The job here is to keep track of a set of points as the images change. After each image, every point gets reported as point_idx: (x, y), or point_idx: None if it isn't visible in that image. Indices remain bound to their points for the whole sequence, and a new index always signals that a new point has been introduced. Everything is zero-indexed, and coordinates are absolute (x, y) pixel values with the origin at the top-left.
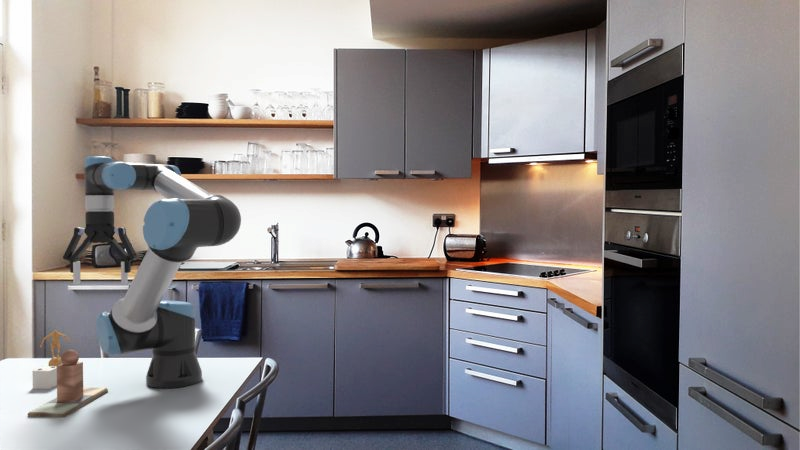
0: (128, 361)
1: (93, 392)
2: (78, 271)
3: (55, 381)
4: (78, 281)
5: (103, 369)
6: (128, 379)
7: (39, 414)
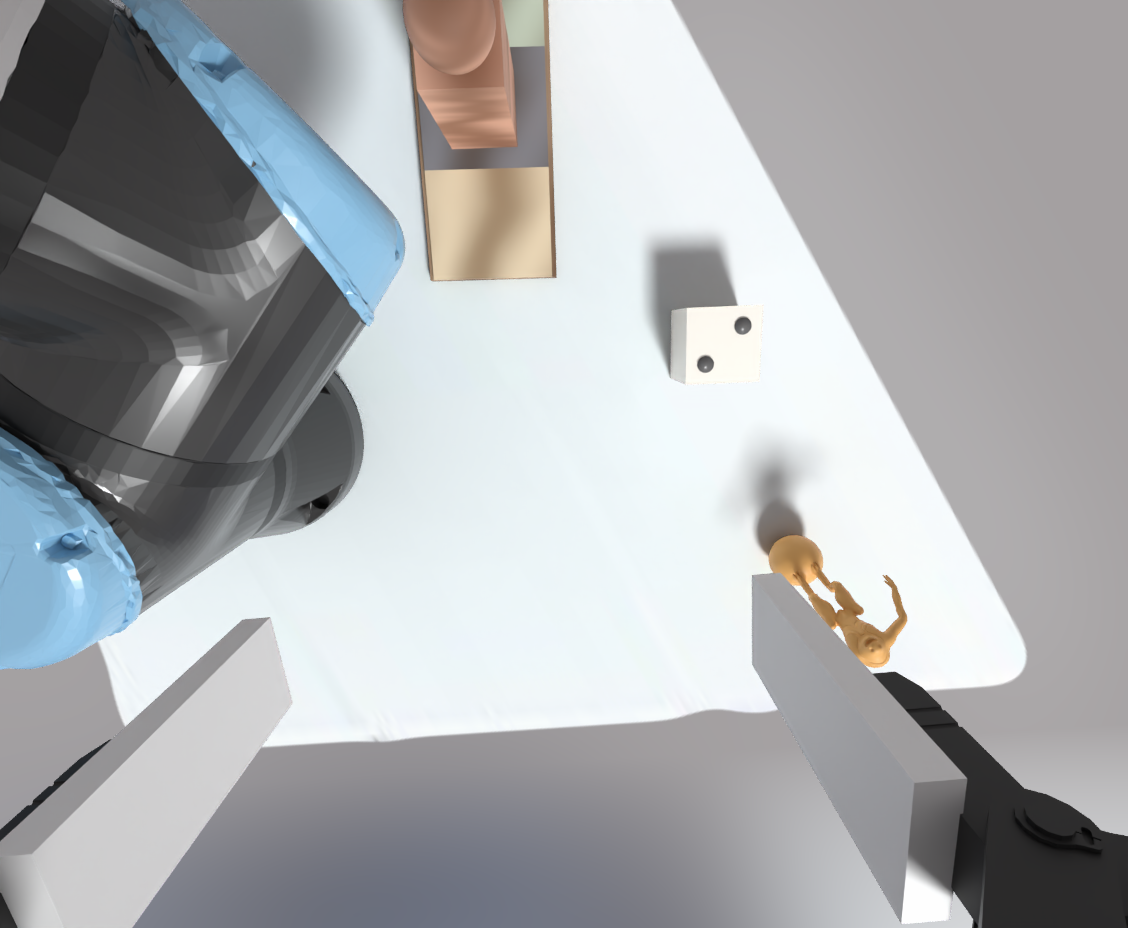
0: (582, 676)
1: (446, 209)
2: (816, 727)
3: (674, 344)
4: (762, 640)
5: (615, 570)
6: (450, 448)
7: None
